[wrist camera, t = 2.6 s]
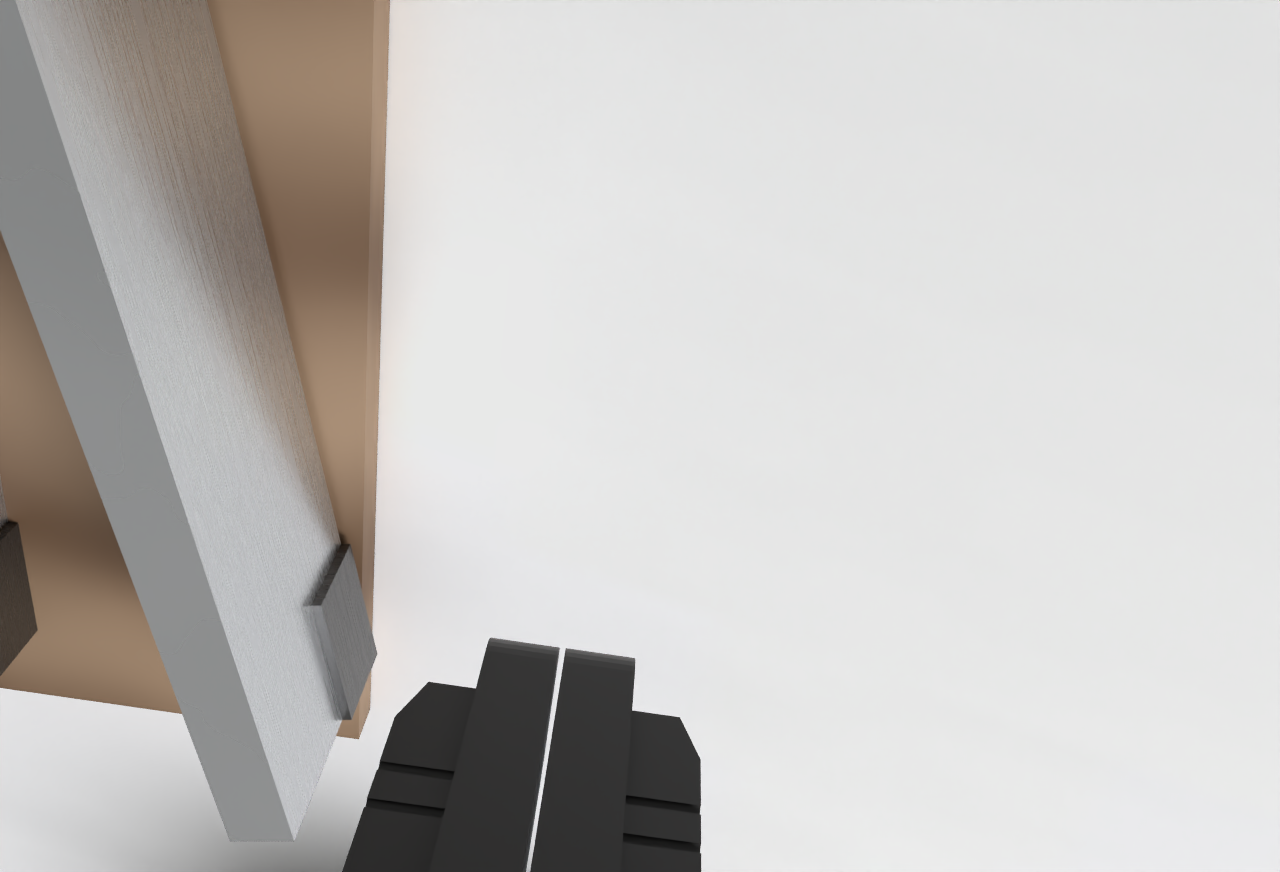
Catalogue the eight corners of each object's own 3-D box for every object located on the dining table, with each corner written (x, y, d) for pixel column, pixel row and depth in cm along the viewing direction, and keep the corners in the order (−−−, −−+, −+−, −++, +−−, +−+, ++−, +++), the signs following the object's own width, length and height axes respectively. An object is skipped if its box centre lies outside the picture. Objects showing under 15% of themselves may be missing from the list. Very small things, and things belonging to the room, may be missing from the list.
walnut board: (-683, -1037, 13) (-783, -1099, 12) (412, -826, 13) (392, -871, 12) (-167, 631, 26) (-197, 659, 25) (370, 708, 26) (359, 739, 25)
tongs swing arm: (-31, -526, 14) (-364, -681, 9) (89, -538, 14) (-194, -700, 9) (307, 654, 24) (219, 841, 19) (377, 653, 24) (305, 841, 19)
